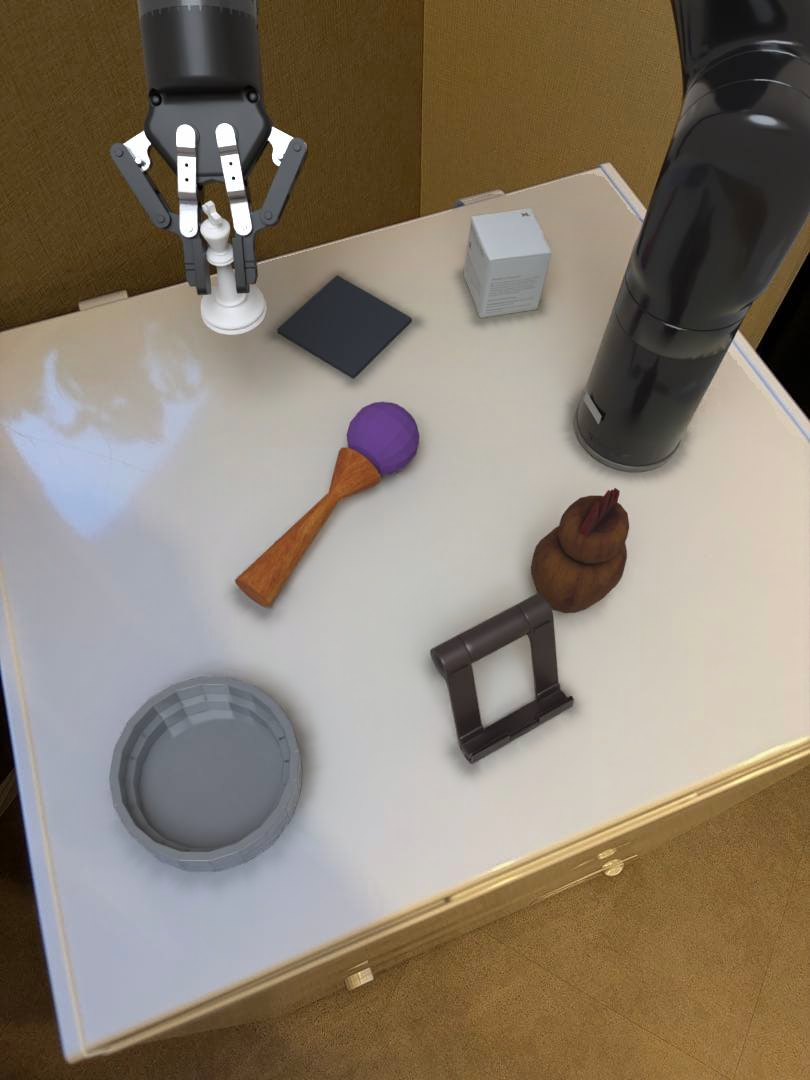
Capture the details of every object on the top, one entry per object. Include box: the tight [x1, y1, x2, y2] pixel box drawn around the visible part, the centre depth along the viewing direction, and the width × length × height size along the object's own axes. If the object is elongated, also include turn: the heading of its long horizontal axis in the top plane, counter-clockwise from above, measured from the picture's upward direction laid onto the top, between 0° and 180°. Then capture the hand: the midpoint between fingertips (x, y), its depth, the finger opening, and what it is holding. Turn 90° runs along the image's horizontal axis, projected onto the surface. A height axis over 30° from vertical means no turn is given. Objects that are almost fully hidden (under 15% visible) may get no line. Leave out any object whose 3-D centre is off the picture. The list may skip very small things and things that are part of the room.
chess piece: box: [200, 200, 268, 336], centre depth 63 cm, size 5×5×10 cm
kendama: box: [234, 401, 420, 609], centre depth 71 cm, size 6×6×20 cm
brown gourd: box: [530, 487, 630, 614], centre depth 64 cm, size 7×6×15 cm
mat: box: [276, 275, 413, 379], centre depth 83 cm, size 9×9×1 cm
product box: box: [463, 207, 553, 319], centre depth 84 cm, size 6×6×7 cm
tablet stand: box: [429, 593, 575, 765], centre depth 62 cm, size 9×8×8 cm
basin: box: [108, 676, 303, 872], centre depth 60 cm, size 12×12×4 cm
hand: (224, 292), depth 63 cm, fingers closed on chess piece
